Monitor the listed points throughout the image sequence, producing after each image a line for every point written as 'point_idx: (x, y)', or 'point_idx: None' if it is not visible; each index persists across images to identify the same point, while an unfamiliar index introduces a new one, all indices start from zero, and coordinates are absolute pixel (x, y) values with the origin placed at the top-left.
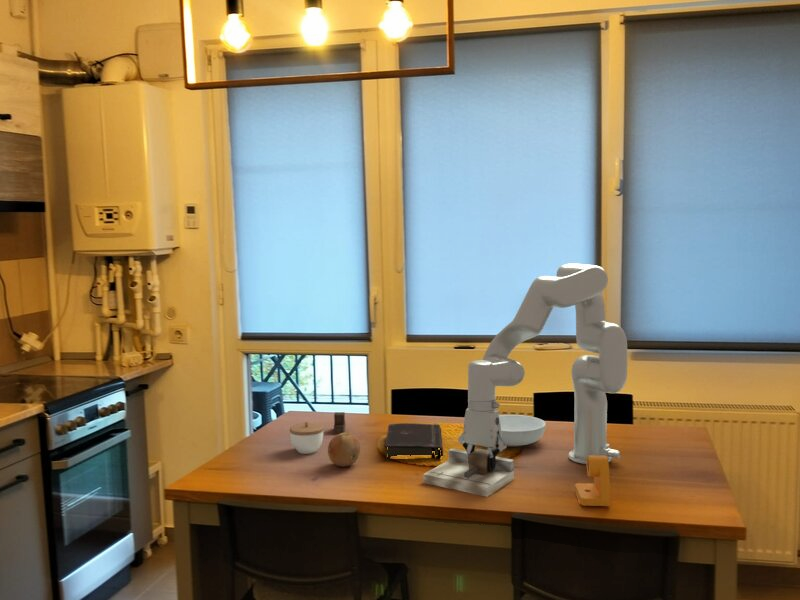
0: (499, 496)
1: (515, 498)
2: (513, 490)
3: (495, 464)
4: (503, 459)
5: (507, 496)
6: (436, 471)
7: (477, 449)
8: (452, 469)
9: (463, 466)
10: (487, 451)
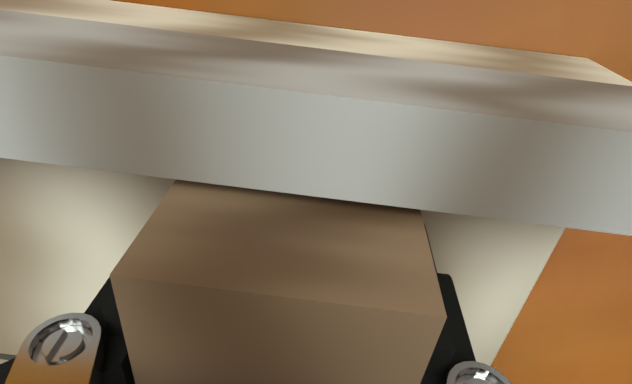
0: (501, 371)
1: (601, 370)
2: (587, 283)
3: (454, 291)
4: (558, 187)
5: (550, 361)
6: (11, 337)
7: (124, 323)
8: (66, 277)
9: (83, 186)
10: (323, 352)
